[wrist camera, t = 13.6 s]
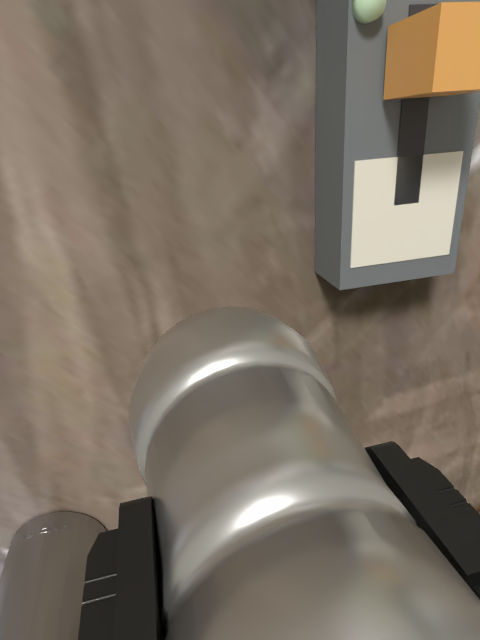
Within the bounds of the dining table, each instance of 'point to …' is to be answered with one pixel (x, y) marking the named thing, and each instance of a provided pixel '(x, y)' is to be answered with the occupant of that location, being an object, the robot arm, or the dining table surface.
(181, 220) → the dining table surface
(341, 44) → the box
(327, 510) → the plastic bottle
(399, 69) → the lever
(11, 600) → the robot arm
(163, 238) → the dining table surface
